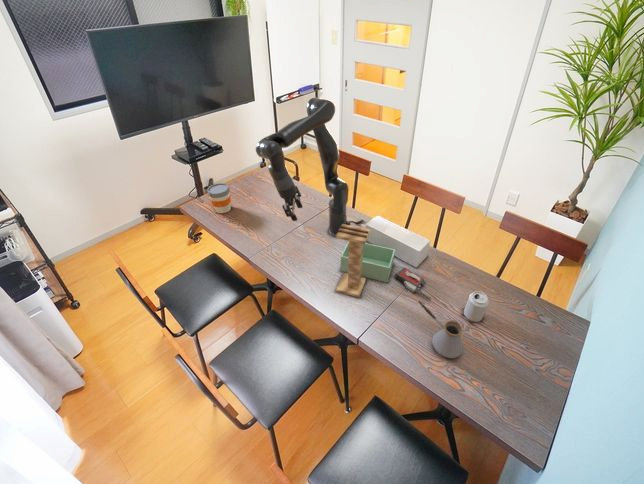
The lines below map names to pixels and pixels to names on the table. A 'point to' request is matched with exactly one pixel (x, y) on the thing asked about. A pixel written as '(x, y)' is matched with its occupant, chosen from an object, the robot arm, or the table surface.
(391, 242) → the stack of papers
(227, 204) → the reusable coffee cup
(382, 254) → the bin
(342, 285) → the stand
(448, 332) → the coffee pot
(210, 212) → the table surface
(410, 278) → the walkie-talkie
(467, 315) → the can
